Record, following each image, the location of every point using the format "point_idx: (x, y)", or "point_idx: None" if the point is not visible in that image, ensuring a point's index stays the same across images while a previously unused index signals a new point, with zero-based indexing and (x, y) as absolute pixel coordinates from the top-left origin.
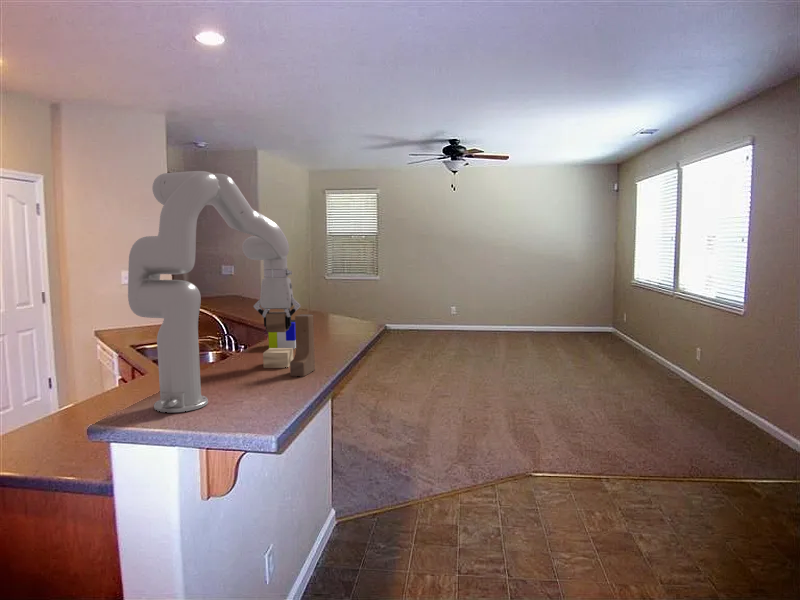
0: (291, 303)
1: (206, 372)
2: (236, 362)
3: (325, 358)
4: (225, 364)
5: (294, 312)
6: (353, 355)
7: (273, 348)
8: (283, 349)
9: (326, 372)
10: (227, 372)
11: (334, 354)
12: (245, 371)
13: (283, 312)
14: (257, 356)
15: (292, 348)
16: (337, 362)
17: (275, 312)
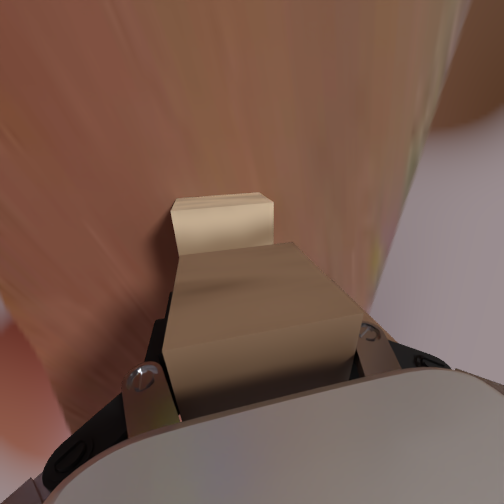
0: (492, 399)
1: (39, 341)
2: (30, 202)
3: (356, 115)
4: (10, 240)
5: (412, 354)
6: (452, 52)
7: (192, 217)
8: (243, 235)
9: (356, 290)
10: (108, 330)
11: (391, 20)
12: (155, 313)
13: (323, 372)
14: (38, 54)
15: (273, 212)
16: (388, 182)
17: (246, 386)
